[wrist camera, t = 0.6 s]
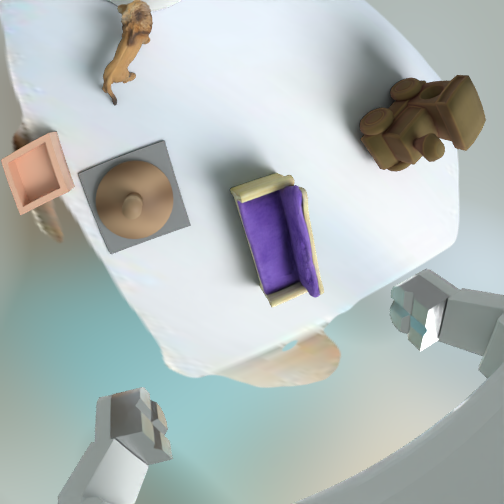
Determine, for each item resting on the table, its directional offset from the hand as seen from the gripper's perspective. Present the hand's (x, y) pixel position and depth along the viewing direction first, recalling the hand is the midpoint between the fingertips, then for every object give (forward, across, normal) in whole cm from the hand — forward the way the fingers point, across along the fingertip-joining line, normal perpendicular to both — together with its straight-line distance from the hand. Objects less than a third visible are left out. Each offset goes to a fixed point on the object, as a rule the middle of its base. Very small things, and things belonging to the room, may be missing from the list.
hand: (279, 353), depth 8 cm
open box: (+40, +21, -7) cm, 46 cm away
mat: (+40, +8, +3) cm, 41 cm away
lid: (+40, +8, +3) cm, 41 cm away
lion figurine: (+40, +3, -19) cm, 44 cm away
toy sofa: (+40, -11, +16) cm, 45 cm away
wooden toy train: (+40, -41, +1) cm, 57 cm away
